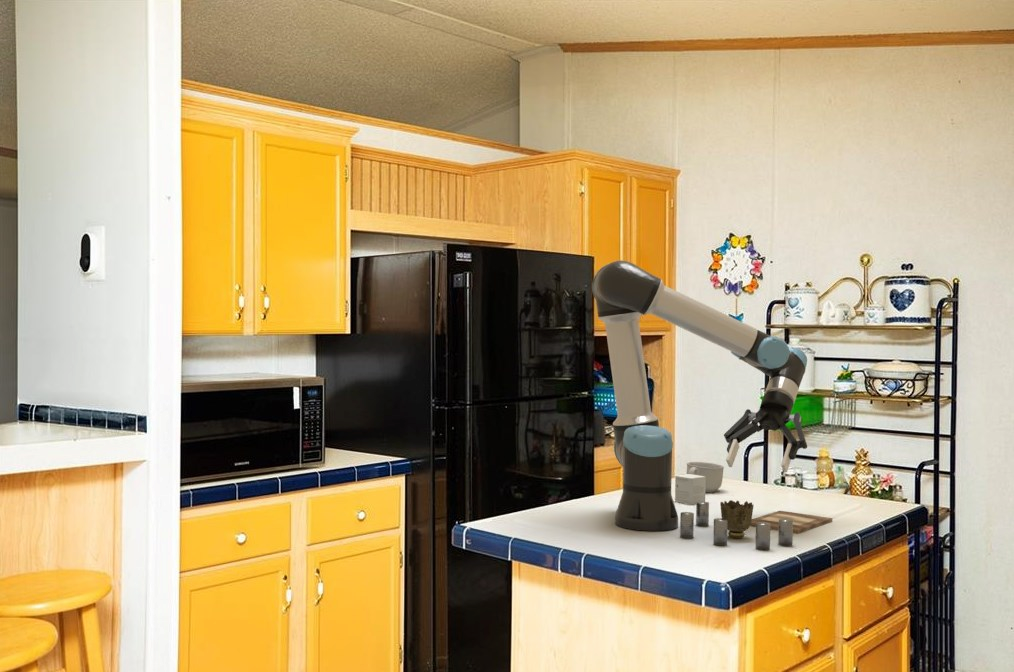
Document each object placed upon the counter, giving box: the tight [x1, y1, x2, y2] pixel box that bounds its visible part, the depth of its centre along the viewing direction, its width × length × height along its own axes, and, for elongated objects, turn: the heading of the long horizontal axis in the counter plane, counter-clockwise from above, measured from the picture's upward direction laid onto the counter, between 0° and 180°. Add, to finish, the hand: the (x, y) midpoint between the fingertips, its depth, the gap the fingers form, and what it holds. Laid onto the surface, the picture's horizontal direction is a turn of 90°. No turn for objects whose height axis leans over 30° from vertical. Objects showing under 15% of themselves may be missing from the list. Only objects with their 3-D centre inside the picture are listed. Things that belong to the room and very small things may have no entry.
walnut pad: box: [750, 510, 833, 534], centre depth 240 cm, size 20×14×1 cm
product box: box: [674, 473, 706, 506], centre depth 267 cm, size 6×6×7 cm
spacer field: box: [679, 501, 794, 551], centre depth 223 cm, size 22×29×6 cm
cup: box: [719, 499, 754, 540], centre depth 222 cm, size 8×7×8 cm
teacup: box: [686, 461, 725, 493], centre depth 285 cm, size 14×11×8 cm
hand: (755, 466), depth 231 cm, fingers open, 13 cm apart
